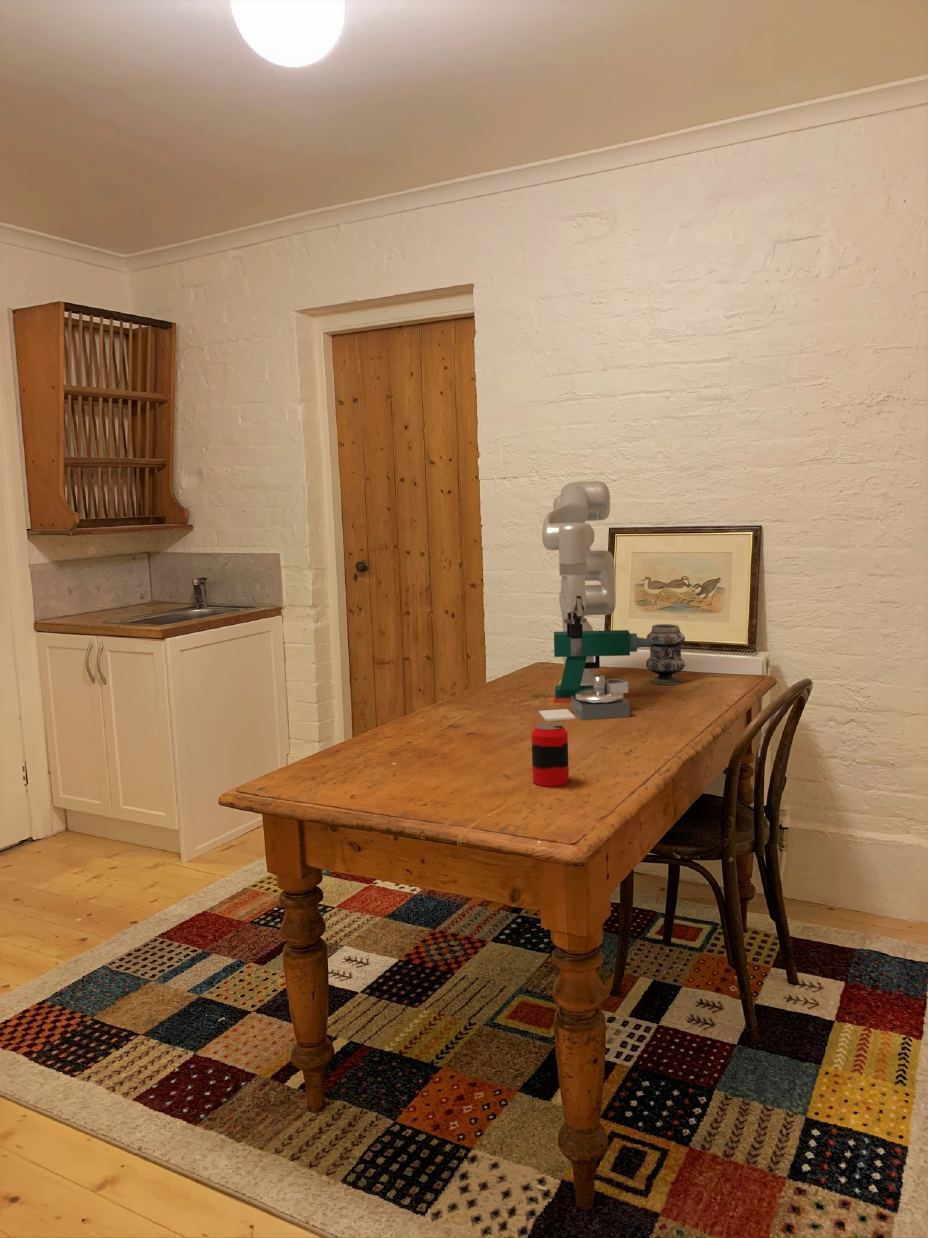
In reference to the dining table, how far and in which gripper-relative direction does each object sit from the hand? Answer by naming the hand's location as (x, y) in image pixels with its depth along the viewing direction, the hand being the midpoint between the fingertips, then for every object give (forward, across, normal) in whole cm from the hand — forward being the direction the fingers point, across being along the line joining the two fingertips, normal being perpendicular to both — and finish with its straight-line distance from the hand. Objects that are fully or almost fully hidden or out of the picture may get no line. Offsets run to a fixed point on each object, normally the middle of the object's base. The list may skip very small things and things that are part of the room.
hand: (574, 636), depth 260 cm
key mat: (+22, +1, -6) cm, 22 cm away
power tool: (+22, -16, +14) cm, 30 cm away
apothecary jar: (+21, -35, +38) cm, 56 cm away
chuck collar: (+17, +1, +7) cm, 18 cm away
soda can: (+22, +59, -21) cm, 67 cm away
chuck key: (+5, 0, 0) cm, 5 cm away
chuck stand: (+21, +1, +6) cm, 22 cm away
